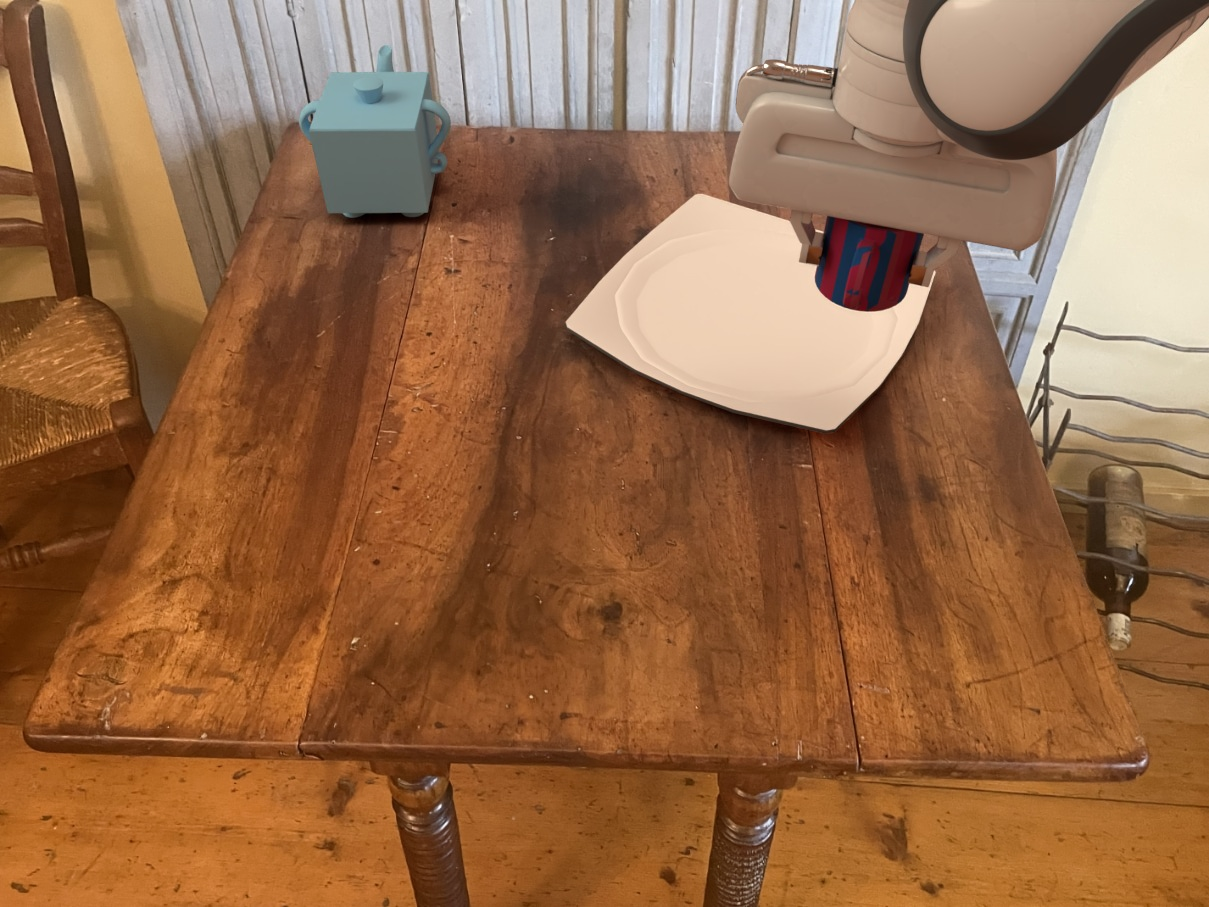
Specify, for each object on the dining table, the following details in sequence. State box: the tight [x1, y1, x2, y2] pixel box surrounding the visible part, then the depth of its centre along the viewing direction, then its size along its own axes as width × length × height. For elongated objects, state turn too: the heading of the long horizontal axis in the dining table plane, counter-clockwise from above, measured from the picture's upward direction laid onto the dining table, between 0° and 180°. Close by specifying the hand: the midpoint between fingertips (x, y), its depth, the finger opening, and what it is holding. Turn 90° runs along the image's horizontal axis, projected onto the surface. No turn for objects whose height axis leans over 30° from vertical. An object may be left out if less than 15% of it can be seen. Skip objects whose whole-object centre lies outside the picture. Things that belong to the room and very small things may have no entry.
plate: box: [564, 193, 937, 435], centre depth 92 cm, size 29×29×3 cm
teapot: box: [298, 44, 452, 219], centre depth 106 cm, size 18×16×13 cm
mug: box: [815, 216, 925, 312], centre depth 69 cm, size 7×10×7 cm
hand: (864, 270), depth 69 cm, fingers closed on mug, 6 cm apart
